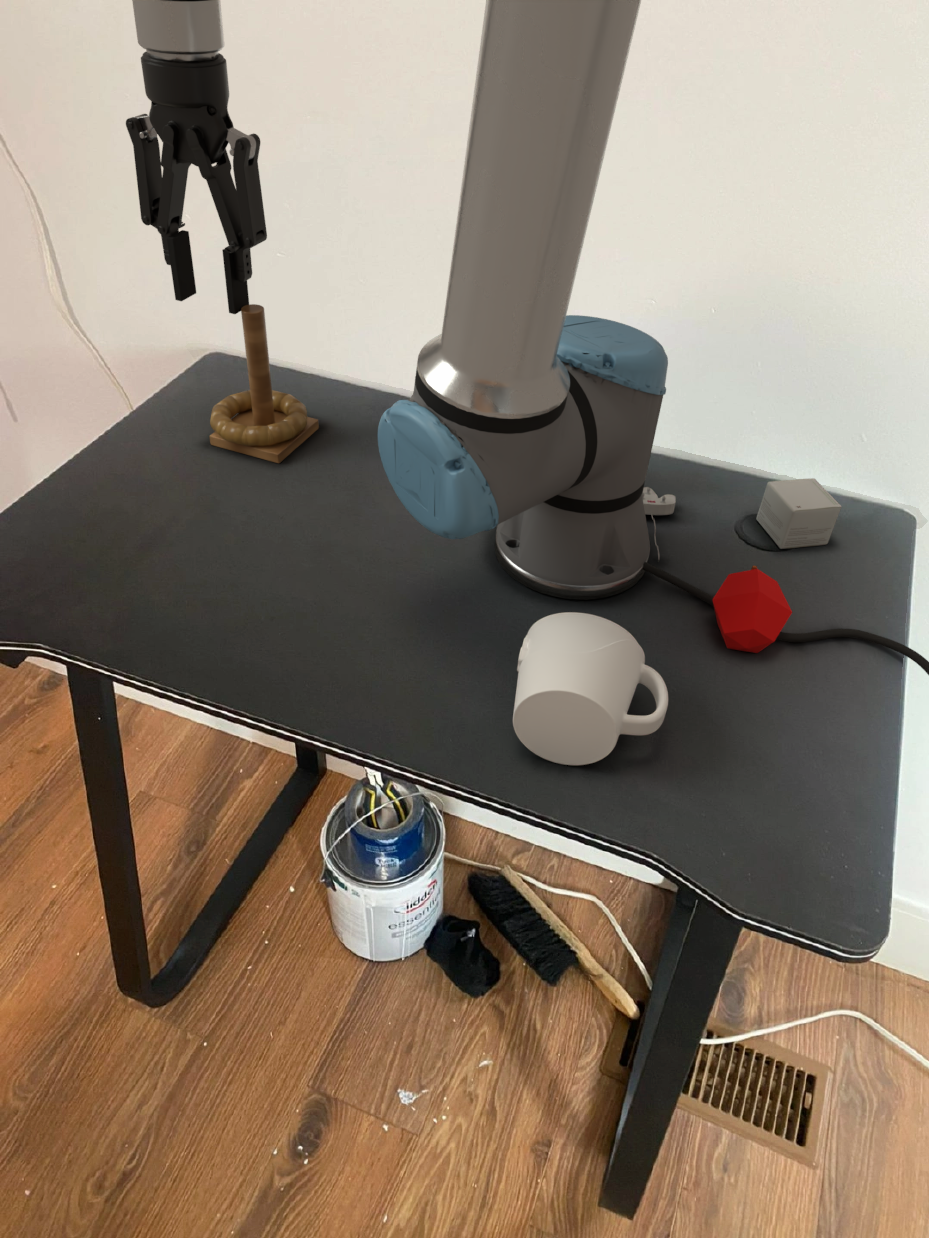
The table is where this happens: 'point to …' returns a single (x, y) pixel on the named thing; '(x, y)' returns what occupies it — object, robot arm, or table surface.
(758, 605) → the apple
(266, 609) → the table surface
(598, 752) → the mug
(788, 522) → the small box
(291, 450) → the peg stand
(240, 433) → the ring
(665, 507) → the game controller
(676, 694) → the table surface
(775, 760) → the table surface
